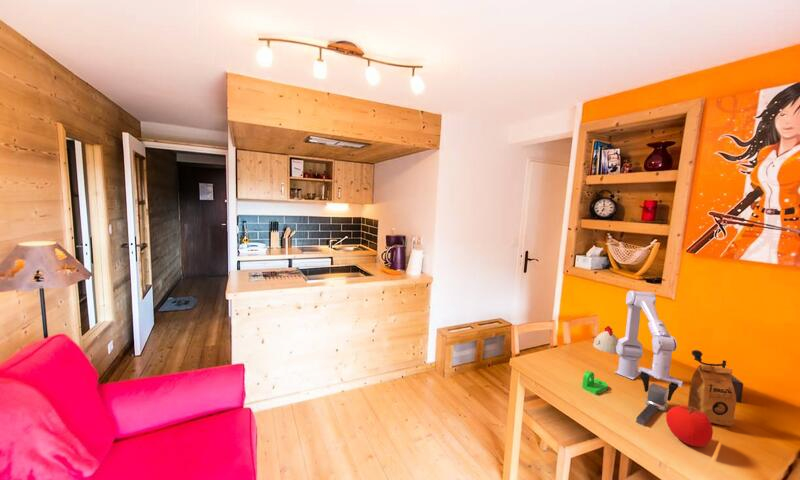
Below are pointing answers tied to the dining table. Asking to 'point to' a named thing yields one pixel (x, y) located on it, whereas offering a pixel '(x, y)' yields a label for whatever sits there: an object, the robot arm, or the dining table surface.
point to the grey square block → (657, 394)
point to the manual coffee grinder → (736, 383)
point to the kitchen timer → (606, 341)
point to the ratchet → (649, 412)
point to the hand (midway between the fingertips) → (657, 395)
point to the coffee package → (713, 394)
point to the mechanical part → (593, 383)
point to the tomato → (689, 425)
